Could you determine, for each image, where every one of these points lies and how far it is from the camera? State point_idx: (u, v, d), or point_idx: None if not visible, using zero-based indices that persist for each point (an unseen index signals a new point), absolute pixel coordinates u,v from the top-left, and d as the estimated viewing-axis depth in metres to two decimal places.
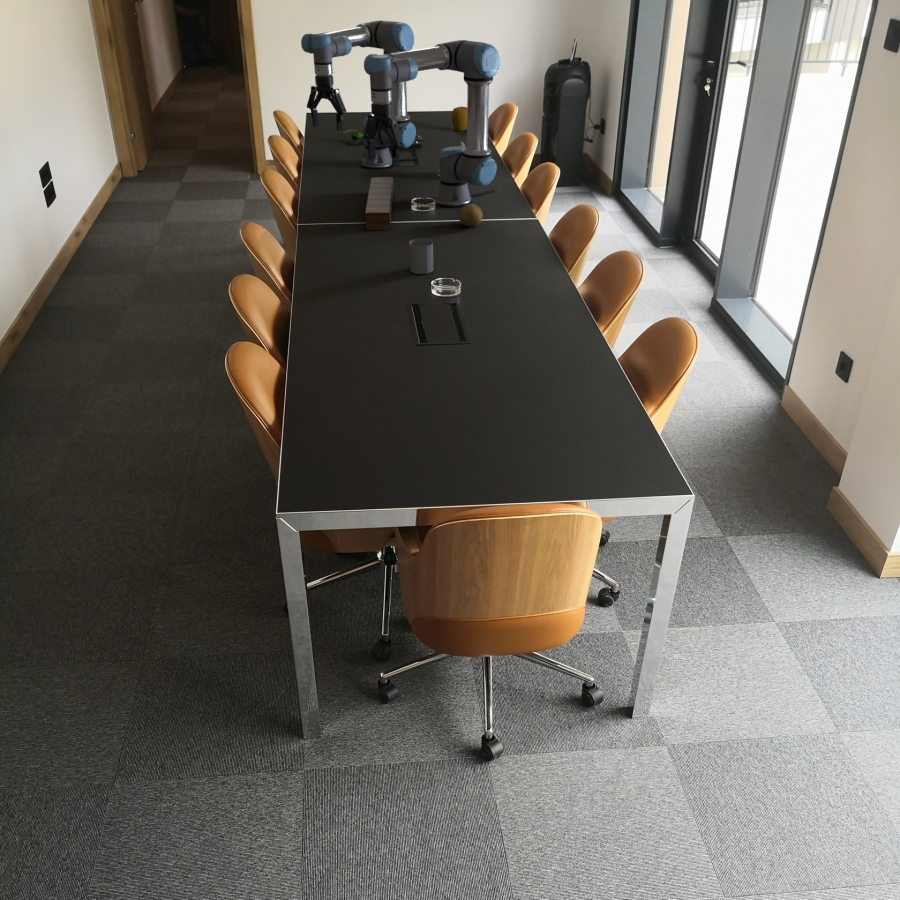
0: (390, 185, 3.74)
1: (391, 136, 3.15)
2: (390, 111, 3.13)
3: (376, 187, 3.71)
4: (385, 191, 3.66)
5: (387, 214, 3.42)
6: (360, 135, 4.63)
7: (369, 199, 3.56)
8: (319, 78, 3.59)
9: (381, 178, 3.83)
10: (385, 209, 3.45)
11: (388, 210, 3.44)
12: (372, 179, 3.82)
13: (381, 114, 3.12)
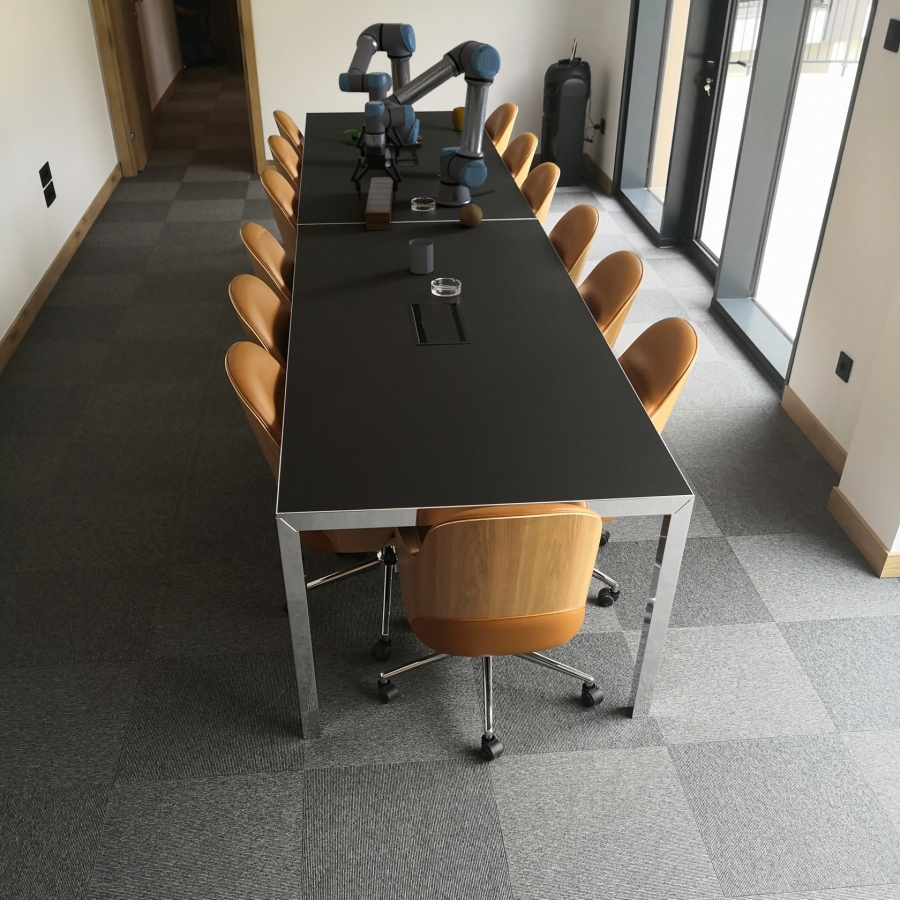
0: (390, 185, 3.74)
1: (390, 173, 3.40)
2: None
3: (376, 187, 3.71)
4: (385, 191, 3.66)
5: (387, 214, 3.42)
6: None
7: (369, 199, 3.56)
8: None
9: (381, 178, 3.83)
10: (385, 209, 3.45)
11: (388, 210, 3.44)
12: (372, 179, 3.82)
13: (382, 155, 3.35)
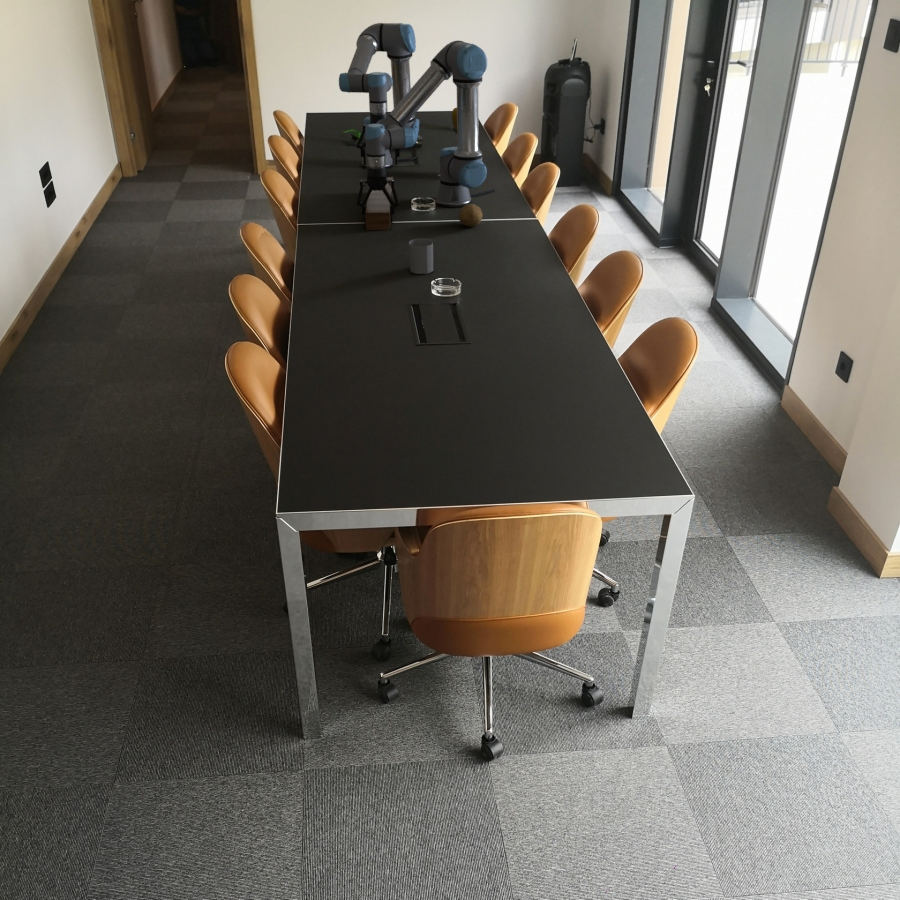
0: None
1: (389, 196, 3.45)
2: None
3: None
4: None
5: (387, 214, 3.42)
6: None
7: (369, 199, 3.56)
8: (379, 116, 3.60)
9: None
10: (385, 209, 3.45)
11: (388, 210, 3.44)
12: None
13: (383, 176, 3.39)
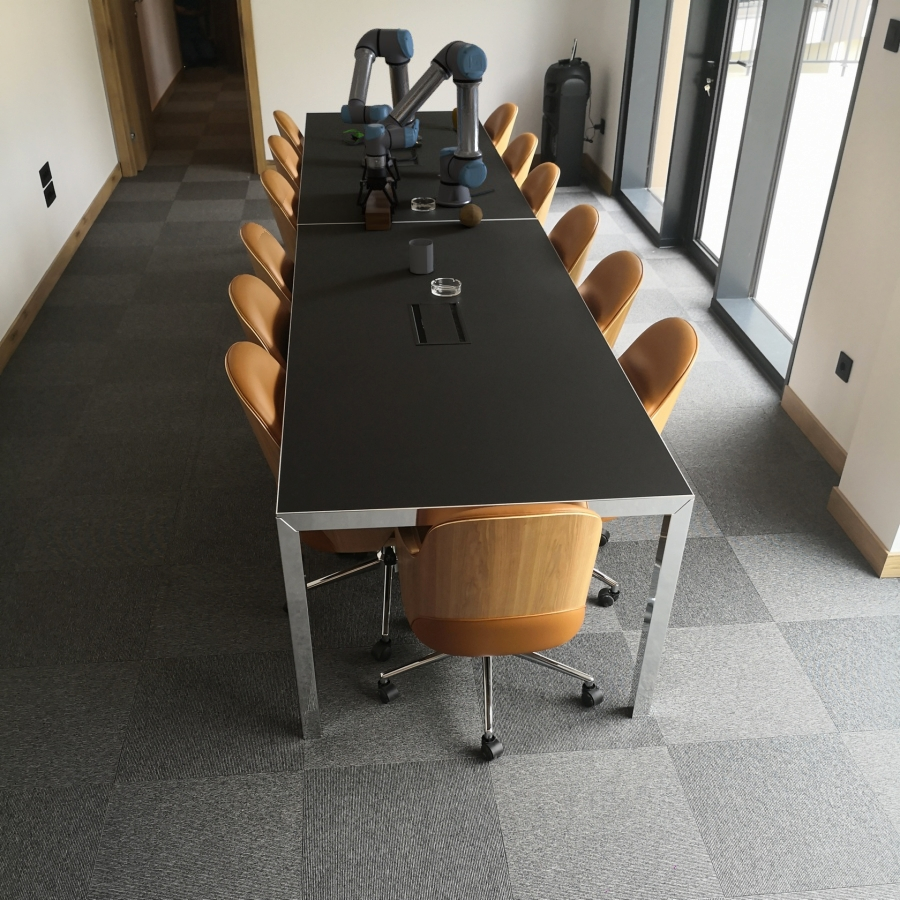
0: None
1: (389, 196, 3.45)
2: None
3: None
4: None
5: (387, 214, 3.42)
6: (360, 135, 4.63)
7: (369, 199, 3.56)
8: None
9: None
10: (385, 209, 3.45)
11: (388, 210, 3.44)
12: None
13: (383, 176, 3.39)
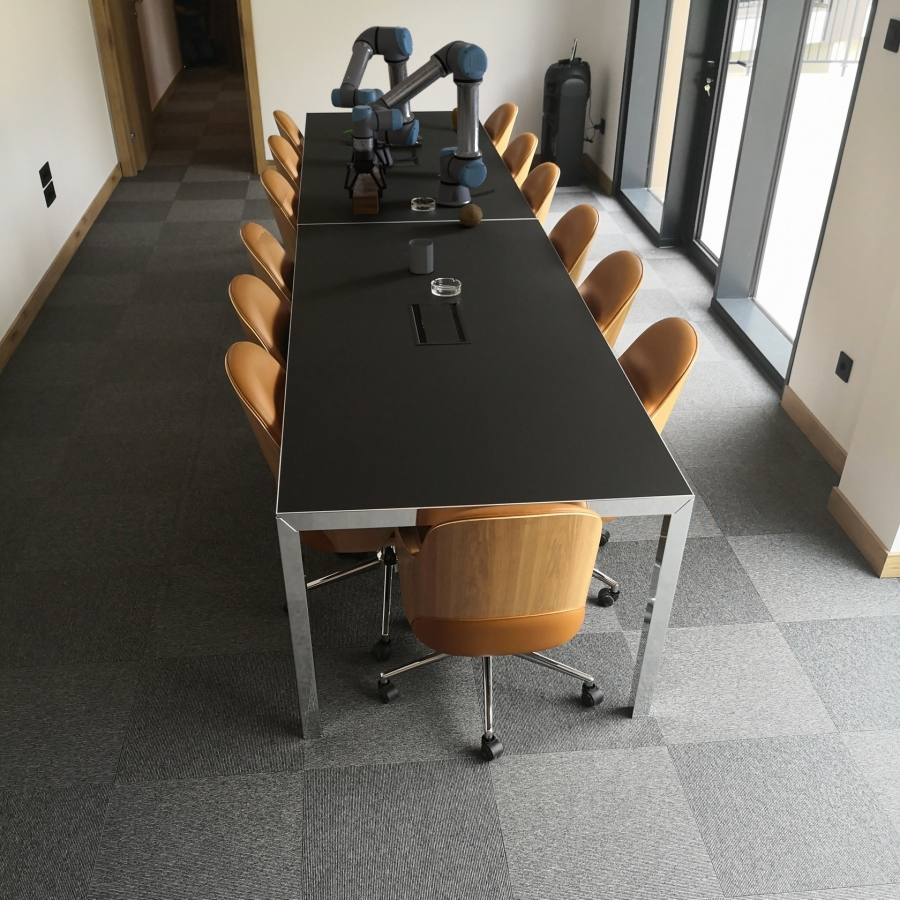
0: None
1: (377, 179, 3.40)
2: None
3: None
4: None
5: (375, 198, 3.37)
6: None
7: (357, 183, 3.51)
8: None
9: None
10: (373, 193, 3.40)
11: (376, 194, 3.39)
12: None
13: (370, 159, 3.34)
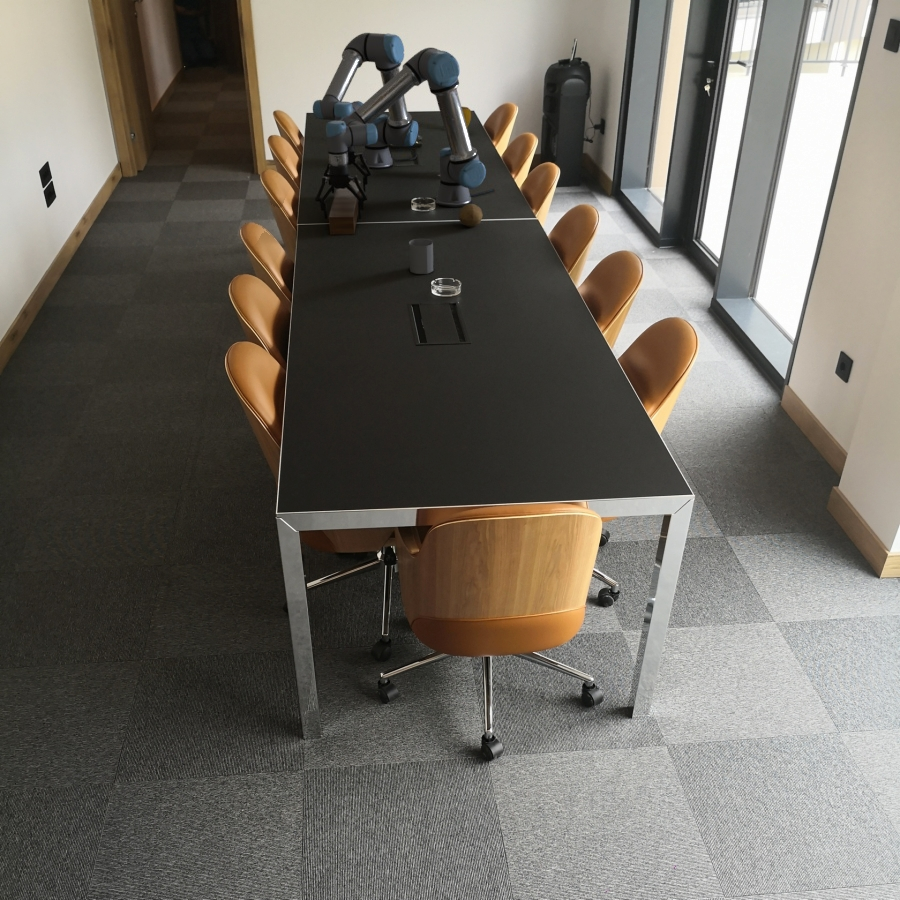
0: (357, 189, 3.69)
1: (355, 192, 3.39)
2: None
3: (342, 191, 3.66)
4: (351, 195, 3.61)
5: (351, 218, 3.37)
6: None
7: (334, 203, 3.52)
8: None
9: None
10: (349, 213, 3.40)
11: (352, 214, 3.39)
12: None
13: (346, 174, 3.33)
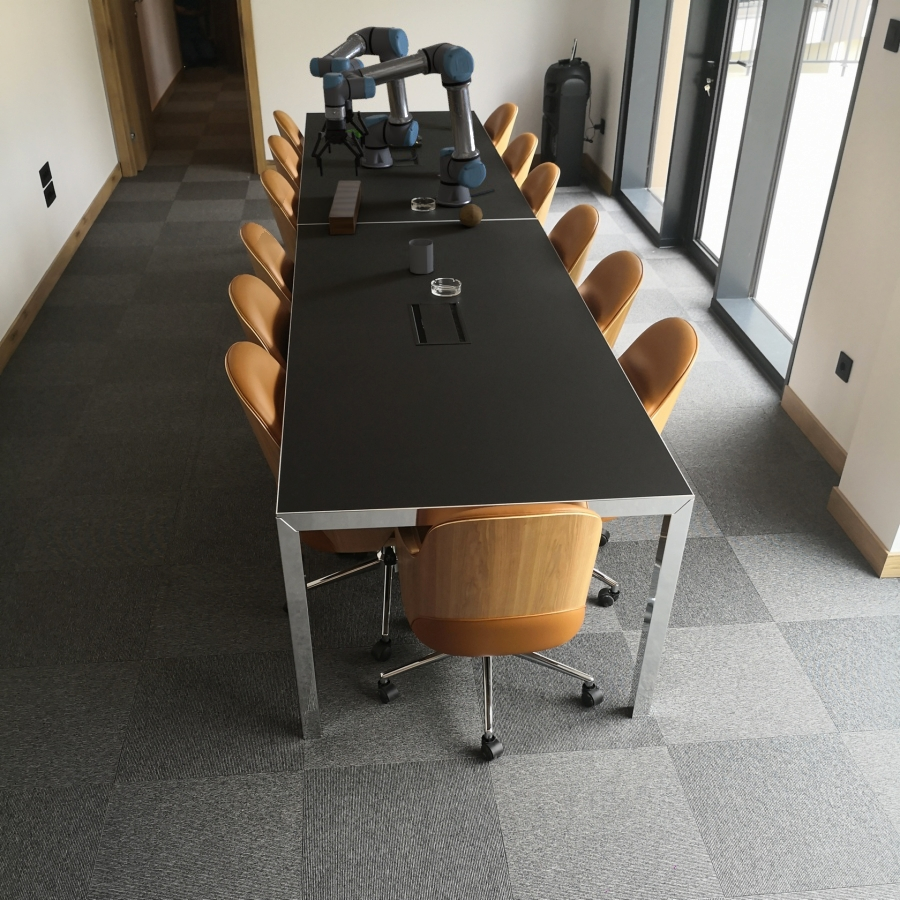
0: (357, 189, 3.69)
1: (352, 148, 3.30)
2: None
3: (342, 191, 3.66)
4: (351, 195, 3.61)
5: (351, 218, 3.37)
6: (360, 135, 4.63)
7: (334, 203, 3.52)
8: None
9: (349, 181, 3.78)
10: (349, 213, 3.40)
11: (352, 214, 3.39)
12: (339, 182, 3.77)
13: (343, 128, 3.24)
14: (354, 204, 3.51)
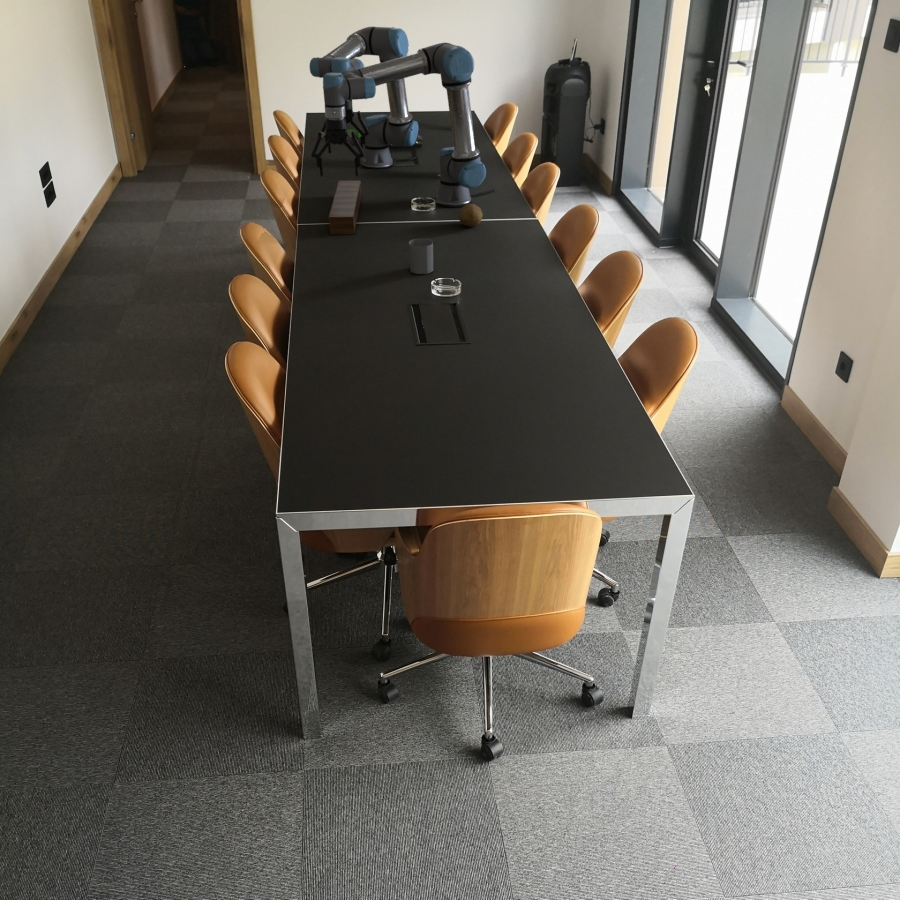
0: (357, 189, 3.69)
1: (352, 148, 3.30)
2: None
3: (342, 191, 3.66)
4: (351, 195, 3.61)
5: (351, 218, 3.37)
6: (360, 135, 4.63)
7: (334, 203, 3.52)
8: None
9: (349, 181, 3.78)
10: (349, 213, 3.40)
11: (352, 214, 3.39)
12: (339, 182, 3.77)
13: (343, 128, 3.24)
14: (354, 204, 3.51)
